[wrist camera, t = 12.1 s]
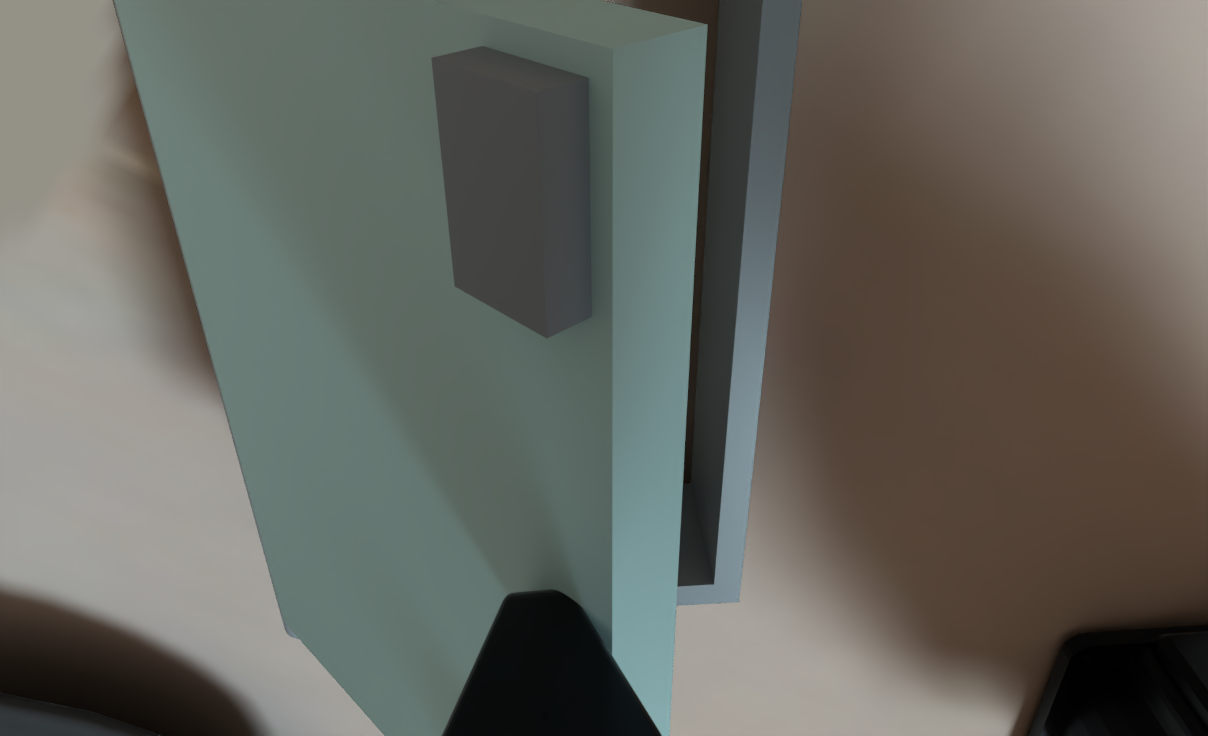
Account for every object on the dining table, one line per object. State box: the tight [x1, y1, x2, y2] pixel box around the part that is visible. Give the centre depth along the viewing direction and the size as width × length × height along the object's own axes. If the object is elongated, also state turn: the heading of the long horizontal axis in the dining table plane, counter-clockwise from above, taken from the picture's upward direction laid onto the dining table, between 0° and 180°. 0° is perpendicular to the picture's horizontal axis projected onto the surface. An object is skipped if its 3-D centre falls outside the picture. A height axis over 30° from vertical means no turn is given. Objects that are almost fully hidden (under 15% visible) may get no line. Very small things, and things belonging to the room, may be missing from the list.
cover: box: [113, 0, 708, 736], centre depth 11 cm, size 12×8×1 cm
